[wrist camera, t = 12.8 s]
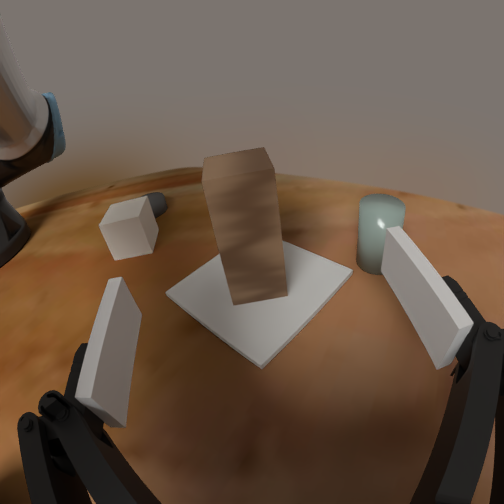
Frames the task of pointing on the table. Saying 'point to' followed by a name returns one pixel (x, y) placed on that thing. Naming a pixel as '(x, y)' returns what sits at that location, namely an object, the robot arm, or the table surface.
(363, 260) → the sage green capsule
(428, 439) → the table surface
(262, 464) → the table surface
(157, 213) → the dark grey pebble
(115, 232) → the cream cube
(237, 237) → the walnut block
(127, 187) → the table surface
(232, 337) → the grey pad
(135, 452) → the table surface
